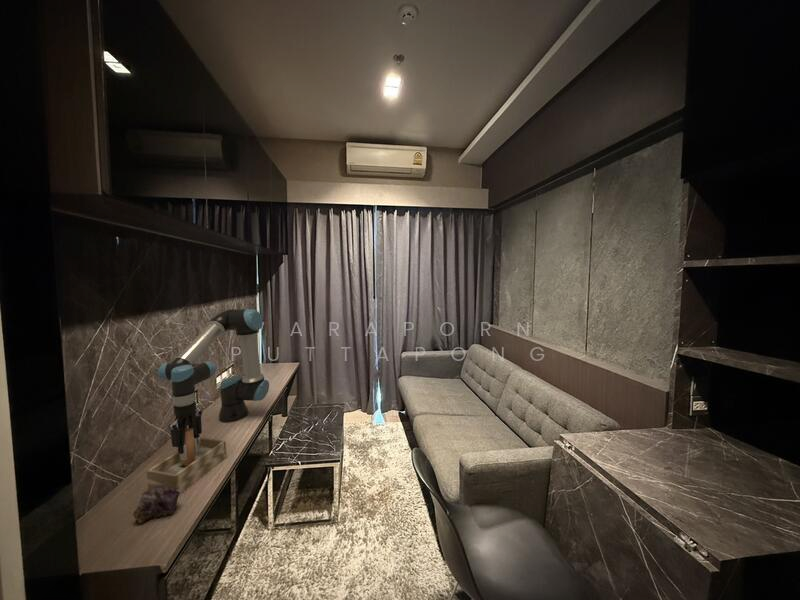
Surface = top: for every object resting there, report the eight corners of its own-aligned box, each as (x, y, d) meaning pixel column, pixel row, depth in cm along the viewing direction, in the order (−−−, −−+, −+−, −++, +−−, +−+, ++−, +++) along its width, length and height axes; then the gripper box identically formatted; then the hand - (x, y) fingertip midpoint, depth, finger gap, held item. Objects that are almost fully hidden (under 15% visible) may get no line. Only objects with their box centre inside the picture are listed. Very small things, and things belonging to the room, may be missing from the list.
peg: (190, 459, 128) (187, 426, 127) (198, 460, 127) (195, 427, 126) (181, 465, 124) (178, 431, 123) (189, 467, 123) (186, 433, 122)
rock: (170, 522, 102) (182, 500, 112) (172, 499, 102) (184, 479, 111) (129, 526, 99) (145, 503, 109) (131, 502, 98) (147, 481, 108)
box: (201, 453, 139) (200, 437, 139) (226, 457, 136) (225, 440, 136) (148, 490, 116) (146, 471, 115) (177, 495, 113) (175, 476, 112)
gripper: (195, 394, 132) (199, 443, 135) (156, 411, 116) (161, 467, 118) (209, 395, 131) (213, 445, 133) (171, 413, 114) (176, 470, 116)
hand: (189, 455), depth 125 cm, fingers closed on peg, 4 cm apart
